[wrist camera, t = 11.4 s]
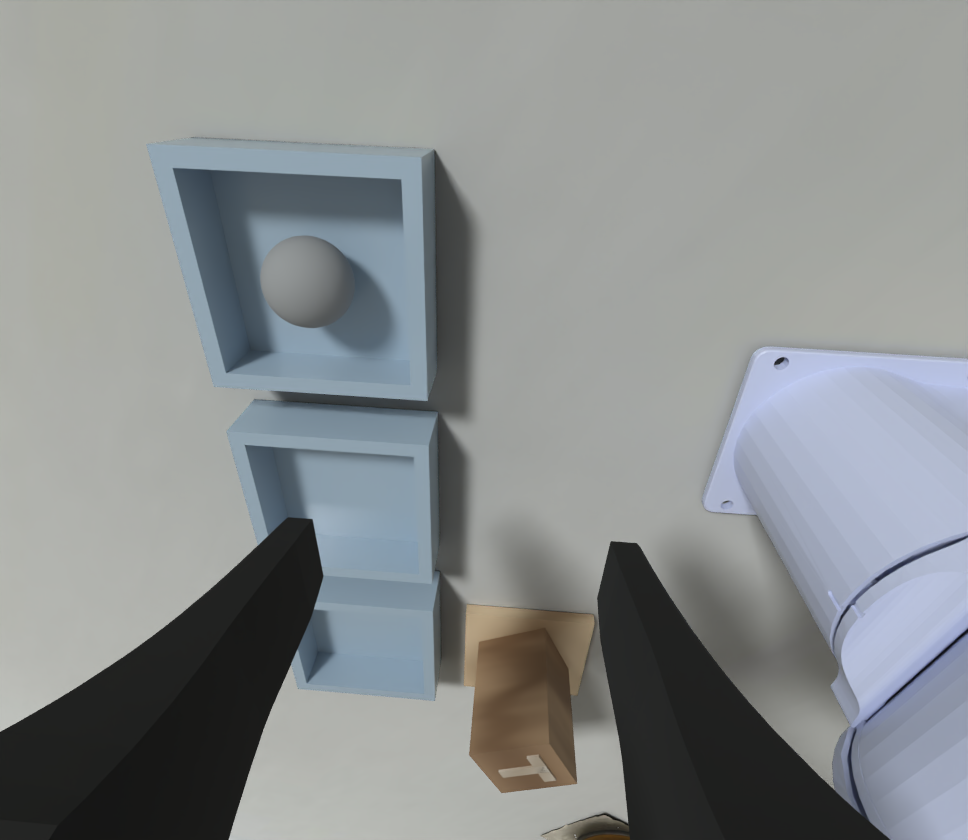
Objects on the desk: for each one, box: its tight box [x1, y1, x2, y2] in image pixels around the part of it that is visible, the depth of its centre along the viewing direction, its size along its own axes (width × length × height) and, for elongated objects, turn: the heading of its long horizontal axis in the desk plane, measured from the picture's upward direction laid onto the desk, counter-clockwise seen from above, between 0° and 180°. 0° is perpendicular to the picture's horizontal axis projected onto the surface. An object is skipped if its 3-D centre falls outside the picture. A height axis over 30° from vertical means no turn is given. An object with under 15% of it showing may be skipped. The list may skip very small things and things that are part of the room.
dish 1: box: [146, 137, 437, 401], centre depth 18 cm, size 8×8×2 cm
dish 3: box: [291, 571, 441, 701], centre depth 29 cm, size 8×8×2 cm
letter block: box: [469, 628, 577, 793], centre depth 27 cm, size 4×4×6 cm
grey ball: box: [260, 235, 355, 328], centre depth 17 cm, size 3×3×3 cm
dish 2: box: [226, 399, 440, 584], centre depth 23 cm, size 8×8×2 cm
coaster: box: [464, 604, 595, 696], centre depth 30 cm, size 7×7×1 cm
